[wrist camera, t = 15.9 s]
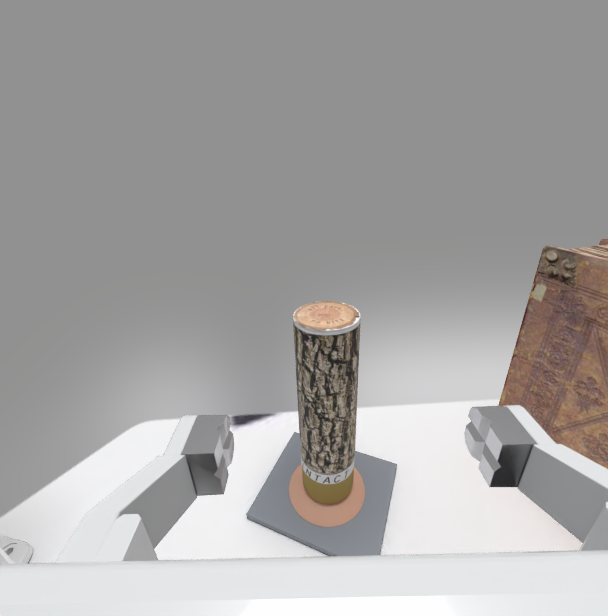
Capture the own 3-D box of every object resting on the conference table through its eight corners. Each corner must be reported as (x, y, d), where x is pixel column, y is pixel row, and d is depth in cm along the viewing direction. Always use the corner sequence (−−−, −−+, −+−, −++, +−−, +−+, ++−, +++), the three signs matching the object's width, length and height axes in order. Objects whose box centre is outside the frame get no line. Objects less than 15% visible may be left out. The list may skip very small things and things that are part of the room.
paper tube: (307, 457, 46) (300, 299, 36) (354, 464, 45) (361, 302, 34) (297, 501, 40) (285, 328, 30) (351, 511, 39) (358, 333, 28)
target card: (247, 518, 39) (246, 513, 39) (294, 435, 51) (294, 431, 51) (375, 576, 33) (375, 571, 33) (396, 467, 45) (396, 463, 45)
